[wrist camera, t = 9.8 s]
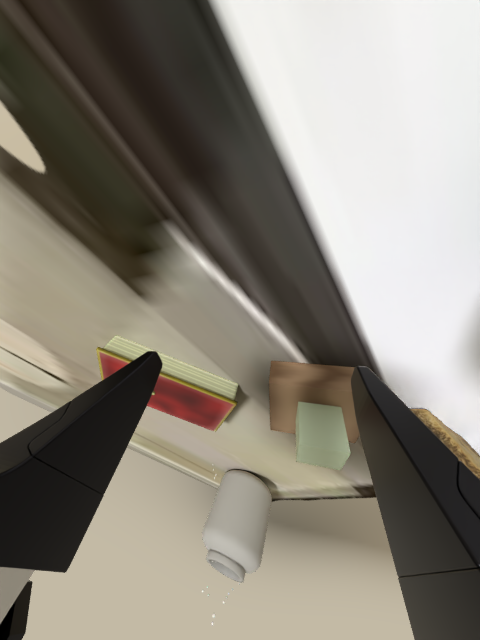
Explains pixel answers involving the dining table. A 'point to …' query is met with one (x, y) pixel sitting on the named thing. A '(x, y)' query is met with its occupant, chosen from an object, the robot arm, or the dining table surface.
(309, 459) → the green cube
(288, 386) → the walnut block
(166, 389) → the hardcover book
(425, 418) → the brown tan chunky block
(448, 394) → the dining table surface
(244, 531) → the jar
